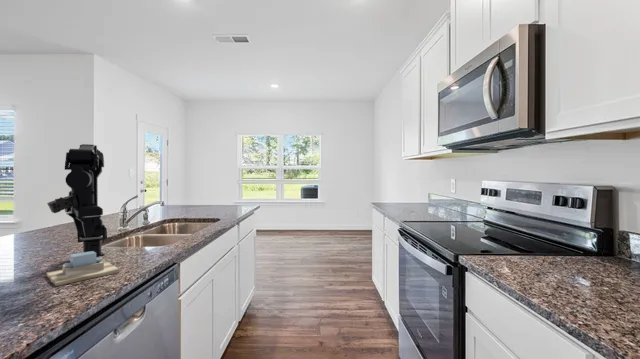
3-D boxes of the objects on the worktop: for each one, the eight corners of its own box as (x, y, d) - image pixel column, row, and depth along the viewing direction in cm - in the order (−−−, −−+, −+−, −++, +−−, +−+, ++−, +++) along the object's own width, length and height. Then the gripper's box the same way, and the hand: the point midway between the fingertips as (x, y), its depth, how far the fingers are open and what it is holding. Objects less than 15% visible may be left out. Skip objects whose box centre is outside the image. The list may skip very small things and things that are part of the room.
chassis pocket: (46, 275, 97) (46, 265, 96) (105, 263, 109) (105, 254, 109) (55, 286, 88) (55, 274, 87) (119, 272, 100) (119, 262, 100)
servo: (64, 272, 96) (64, 255, 96) (98, 266, 103) (98, 250, 103) (67, 275, 94) (66, 258, 93) (102, 268, 100) (101, 252, 100)
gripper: (44, 187, 98) (45, 235, 98) (56, 190, 86) (57, 244, 86) (86, 186, 106) (87, 230, 107) (102, 188, 95) (103, 238, 95)
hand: (83, 235), depth 99 cm, fingers open, 9 cm apart
